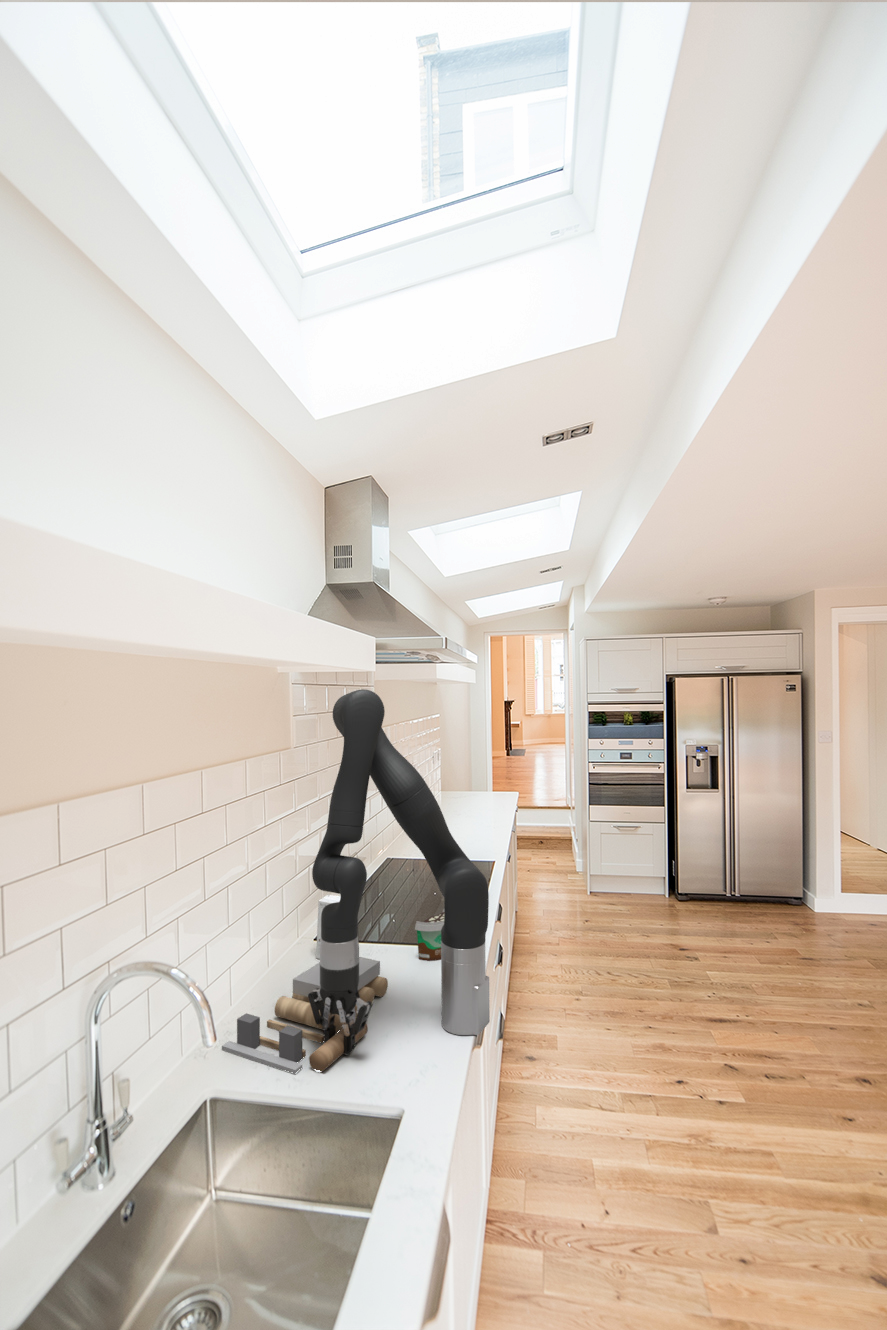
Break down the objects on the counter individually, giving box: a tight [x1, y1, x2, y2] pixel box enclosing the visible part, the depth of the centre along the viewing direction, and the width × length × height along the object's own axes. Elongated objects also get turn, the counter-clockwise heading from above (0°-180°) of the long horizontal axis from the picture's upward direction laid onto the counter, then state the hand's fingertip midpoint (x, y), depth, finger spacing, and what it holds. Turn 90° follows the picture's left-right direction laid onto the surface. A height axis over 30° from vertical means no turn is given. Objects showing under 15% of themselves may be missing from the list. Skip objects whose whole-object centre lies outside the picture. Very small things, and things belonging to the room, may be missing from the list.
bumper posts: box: [221, 1012, 303, 1073], centre depth 127 cm, size 18×4×6 cm, turn 63°
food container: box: [414, 908, 444, 962], centre depth 173 cm, size 12×6×10 cm, turn 143°
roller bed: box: [260, 975, 389, 1059], centre depth 143 cm, size 15×30×4 cm, turn 153°
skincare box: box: [315, 894, 341, 960], centre depth 173 cm, size 8×6×15 cm
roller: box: [309, 1017, 369, 1072], centre depth 129 cm, size 14×4×4 cm, turn 153°
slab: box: [292, 956, 381, 997], centre depth 148 cm, size 12×16×3 cm
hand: (339, 1049), depth 128 cm, fingers closed on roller, 3 cm apart
